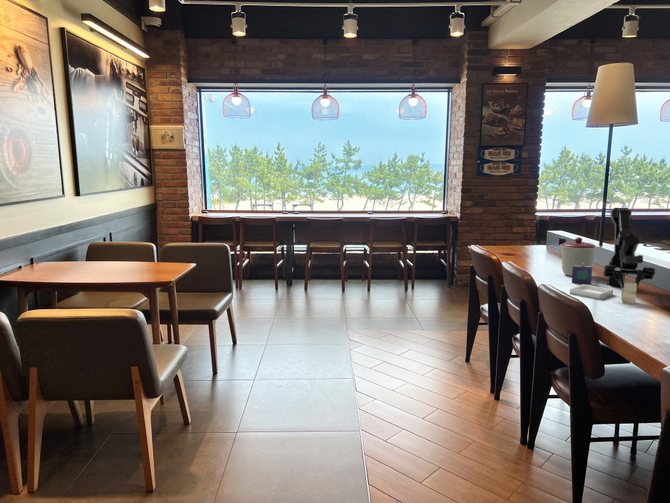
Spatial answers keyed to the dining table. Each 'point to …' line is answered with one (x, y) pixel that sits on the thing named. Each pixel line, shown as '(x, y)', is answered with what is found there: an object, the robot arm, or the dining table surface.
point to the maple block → (629, 292)
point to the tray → (591, 291)
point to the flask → (582, 274)
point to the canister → (576, 254)
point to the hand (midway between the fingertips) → (629, 288)
